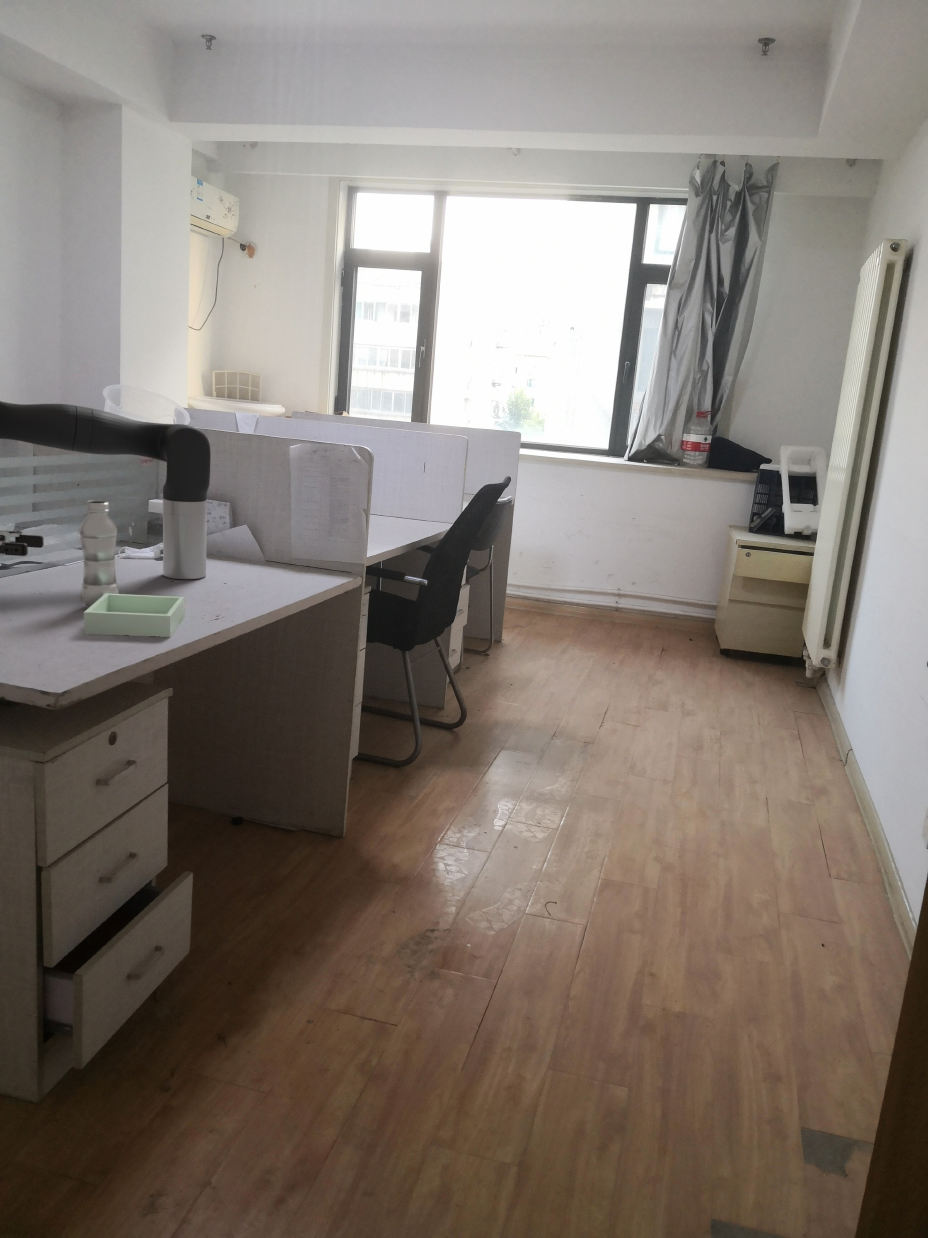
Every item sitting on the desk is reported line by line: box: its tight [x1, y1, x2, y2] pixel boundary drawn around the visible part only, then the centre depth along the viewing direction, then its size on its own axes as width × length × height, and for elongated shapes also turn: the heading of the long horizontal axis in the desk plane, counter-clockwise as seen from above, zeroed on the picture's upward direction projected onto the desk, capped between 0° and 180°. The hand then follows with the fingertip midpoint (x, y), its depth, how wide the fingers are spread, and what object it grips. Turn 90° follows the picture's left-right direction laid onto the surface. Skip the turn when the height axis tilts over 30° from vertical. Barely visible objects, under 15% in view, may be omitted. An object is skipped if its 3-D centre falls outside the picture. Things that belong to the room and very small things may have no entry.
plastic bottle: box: [78, 500, 120, 608], centre depth 162 cm, size 6×7×20 cm
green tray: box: [83, 593, 186, 638], centre depth 155 cm, size 14×14×4 cm
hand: (35, 545), depth 160 cm, fingers open, 8 cm apart
